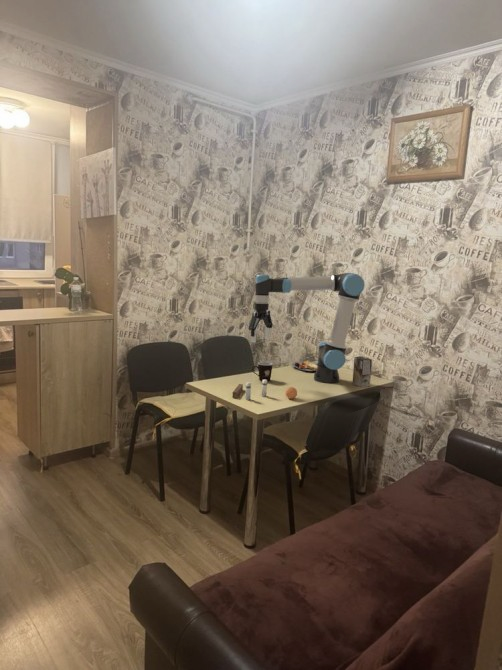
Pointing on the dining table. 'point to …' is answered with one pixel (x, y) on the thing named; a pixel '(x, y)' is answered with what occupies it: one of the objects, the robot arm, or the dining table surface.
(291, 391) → the ball
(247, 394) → the side pin
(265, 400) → the dining table surface
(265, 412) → the dining table surface
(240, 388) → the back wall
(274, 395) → the dining table surface
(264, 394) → the pin
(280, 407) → the dining table surface
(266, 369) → the coffee mug
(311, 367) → the food plate
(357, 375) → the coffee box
